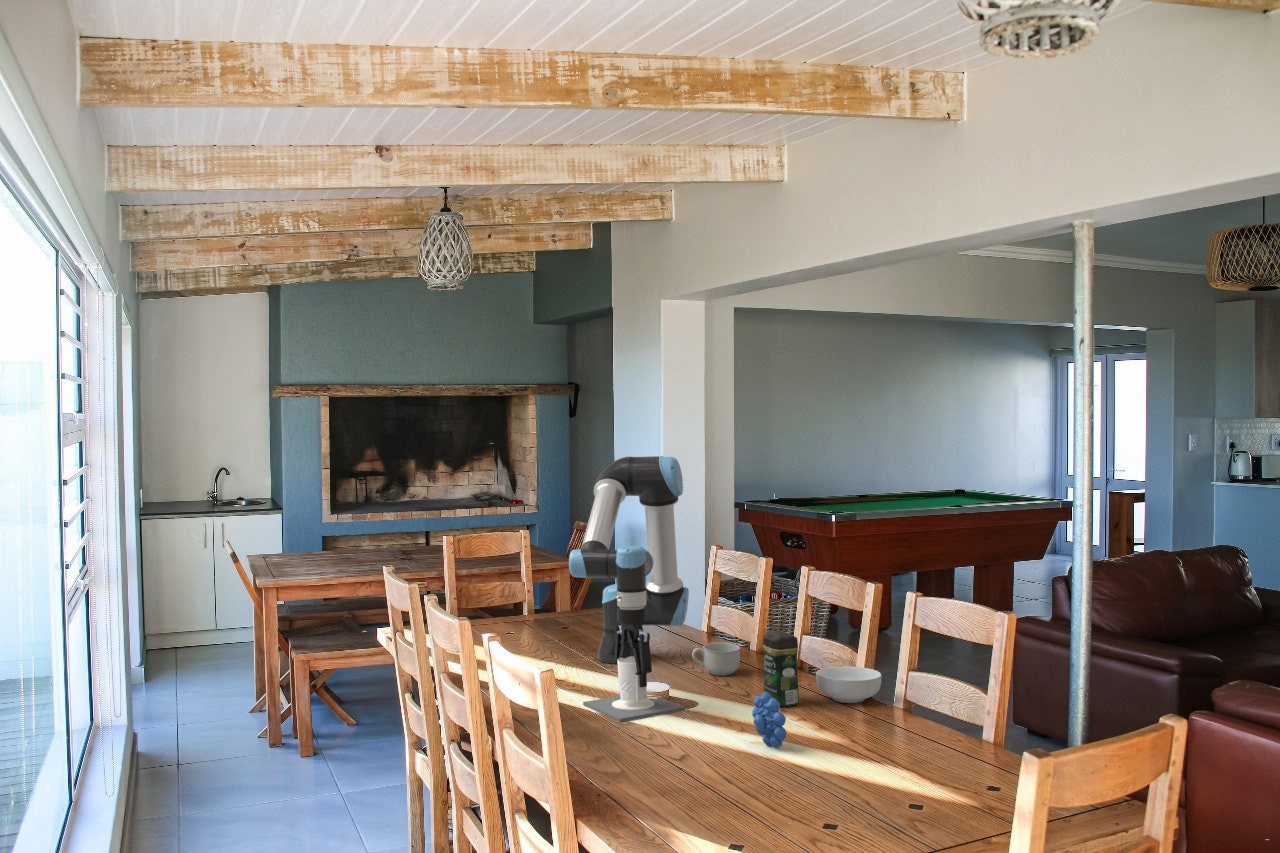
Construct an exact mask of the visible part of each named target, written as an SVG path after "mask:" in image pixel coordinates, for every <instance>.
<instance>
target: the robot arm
mask: <svg viewBox="0 0 1280 853" xmlns="http://www.w3.org/2000/svg"><path fill="white" fill-rule="evenodd" d="M593 487H594V488H593V495H594V500H593V503H592V504H593V505H592V507H591V510H590V516H589V518H588V521H587V526H586V529H585V532H584V536H583V540H582V544H581V546H580V548H577V549H572V551H570V554H569V558H568V570H569V573H570V575H571V576H572V577H574V578H582V579H583V578H584V579H601V578H602V579H616V583H615V584H610V585H608V586H606V587H604V588H603V590H602V601H601V603H602V636H601V639H600V640H601V641H600V643H599V646H598V650H597V660H598V661H599V662H602V663H608V664H613V665H614V664H617V665H618V663H617V660H618V659H619V658H628V657H630V656H634V658H635V662H636V667H637V673H635V674H636V700H642V699H647V692H648V691H647V688H646V686H647V687H648V675H647V673H648V674H649V673H652V672H653V670H652V669H653V668H652V667H653V666H652V657H651V646H650V640H651V638H650V637H651V633H649V632H646V633H645V631H644V627H643V626H650V627H651V626H654V627H659V626H660V627H661V626H664V627H675V626H679V627H681V626H682V625H684V623H685V621H686V619H687V618H686V617H687V613H688V606H689V597H690V596H689V594H690V589H689V588H688V587H686V586H684V583H683V582H684V581H683V580H682V579H681V578H680V577H679V576H678V574H679V573H678V562H677V560H678V559H677V557H678V556H677V543H676V540H677V539H676V527H675V525H676V524H675V510H674V507H675V505H676V504H677V503H678V502H679V497H680V496H682V495H683V492H684V484H683V474H682V468H681V466H680V463H679V461H678V460H677V458H675V457H674V456H663V455H660V456H659V455H658V456H625V457H620V458H617V459H615V460H614V461H612V462H611V463H610V464H609V465H607V466H606V467H605V468H604V469H603V471H602V472H601V473H600V474H599V476H598V477H597V479H596V480H595V483H594V486H593ZM629 496H630V497H633V496H634V497H638V498H639V504H640V505H642V506H643V508H644V511H645V528H646V542H647V543H646V544H647V549H645V548H644V547H642V546H638V545H629V546H628V545H627V546H621V547H618V548H617V549H610V546H611V544H612V538H613V535H614V530H615V526H616V522H617V520H618V519H617V517H618V515H619V511H620V506H621V503H623V502H624V501H625V499H626V497H629ZM648 575H649V579H648V580H647V576H648ZM646 682H647V683H646Z"/></svg>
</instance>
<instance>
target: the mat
mask: <svg viewBox="0 0 1280 853" xmlns="http://www.w3.org/2000/svg"><path fill="white" fill-rule="evenodd" d="M582 706H584V707H586V708H589V709H591V710H593V711H595V712H598V713H600V714H601V715H604V716H606V717H608V718H610V719H612V720H615V721H617V722H618V723H621V722H628V721H629V722H630V721H633V720H638V719H639V720H640V719H643V718H649V717H655V716H660V715H665V714H671V713H676V712H682V711H685V706H683V705H681V704H678V703H675V702H673V701H670V700H667V699H666V698H663V697H661V698H657V699H644V700H641V701H624V700H621V698H620V695H616V696H612V697H605V698H598V699H593V700H587V701H583V702H582Z"/></svg>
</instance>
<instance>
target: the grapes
mask: <svg viewBox="0 0 1280 853" xmlns="http://www.w3.org/2000/svg"><path fill="white" fill-rule="evenodd" d="M753 704H754V705H755V706H754V707H753V709H752V713H751V714H752V717H753V724H754V727H755V731H756V732H757V734H759V735H761V736H762V741H763V743H764V744H765V745H766V746H768V747H773V748H775V749H779V748H781V747H782V744H783V741H784V740H786V737H787V730H786V728H785V727H783V726H784V725H785V724H786V719H787V718H786V716H785V714H784V713H783V712H781V711H780V708H781V706H780V703H779V702H778V701H777V700H776V699H775V698H772V696H771V695H770V694H769V693H768V692H764V691H763V692H762V693H761V694H758V695H756V696H755V697H754V700H753Z"/></svg>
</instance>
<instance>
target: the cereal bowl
mask: <svg viewBox="0 0 1280 853" xmlns="http://www.w3.org/2000/svg"><path fill="white" fill-rule="evenodd" d="M815 675H816V676H815V679H816V684H817V687H818V688H819V690H820V692H822V693H823V694H824V695H826V696H828V697H830V698H832V699H833V700H834V702H835V701H836V702H839V703H844V704H858V702H859V703H862V702H864V701H865V699H869V698H871V697H873V696H875V695H876V694H877V693H878V692H879V691H880V690H881V686H882V673H881V672H879V671H878V670H876V669H872V668H868V667H861V666H860V667H859V666H832V667H831V666H830V667H825V668H821V669H819V670H817V671H816V672H815Z"/></svg>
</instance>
